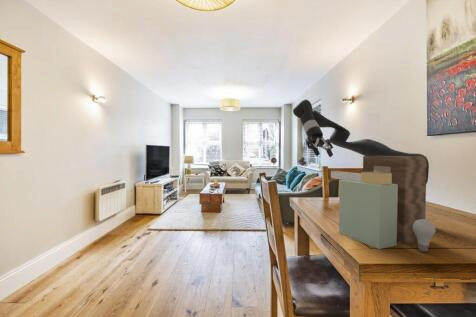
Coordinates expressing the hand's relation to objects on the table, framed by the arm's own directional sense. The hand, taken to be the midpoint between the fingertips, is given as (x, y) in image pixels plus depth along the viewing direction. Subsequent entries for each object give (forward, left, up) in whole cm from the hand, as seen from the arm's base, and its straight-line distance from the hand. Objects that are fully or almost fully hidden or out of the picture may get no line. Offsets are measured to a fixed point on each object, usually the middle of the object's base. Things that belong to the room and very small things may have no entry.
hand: (324, 155), depth 116 cm
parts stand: (-12, +25, -32) cm, 43 cm away
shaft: (+2, +21, -10) cm, 23 cm away
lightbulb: (-5, +41, -32) cm, 53 cm away
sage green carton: (+2, +25, -32) cm, 41 cm away
